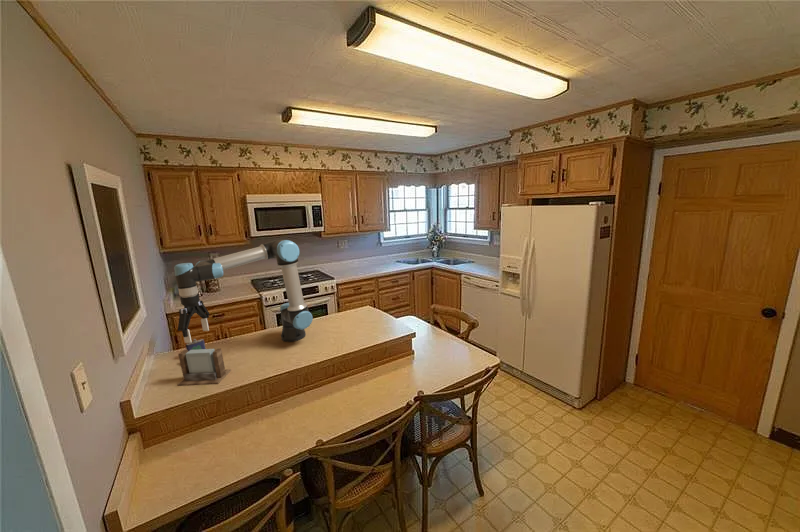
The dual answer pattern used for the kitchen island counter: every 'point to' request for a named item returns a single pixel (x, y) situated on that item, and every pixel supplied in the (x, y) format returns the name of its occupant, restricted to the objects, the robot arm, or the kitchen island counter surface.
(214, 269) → the robot arm
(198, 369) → the door panel
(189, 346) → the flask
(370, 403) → the kitchen island counter surface
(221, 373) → the track frame
